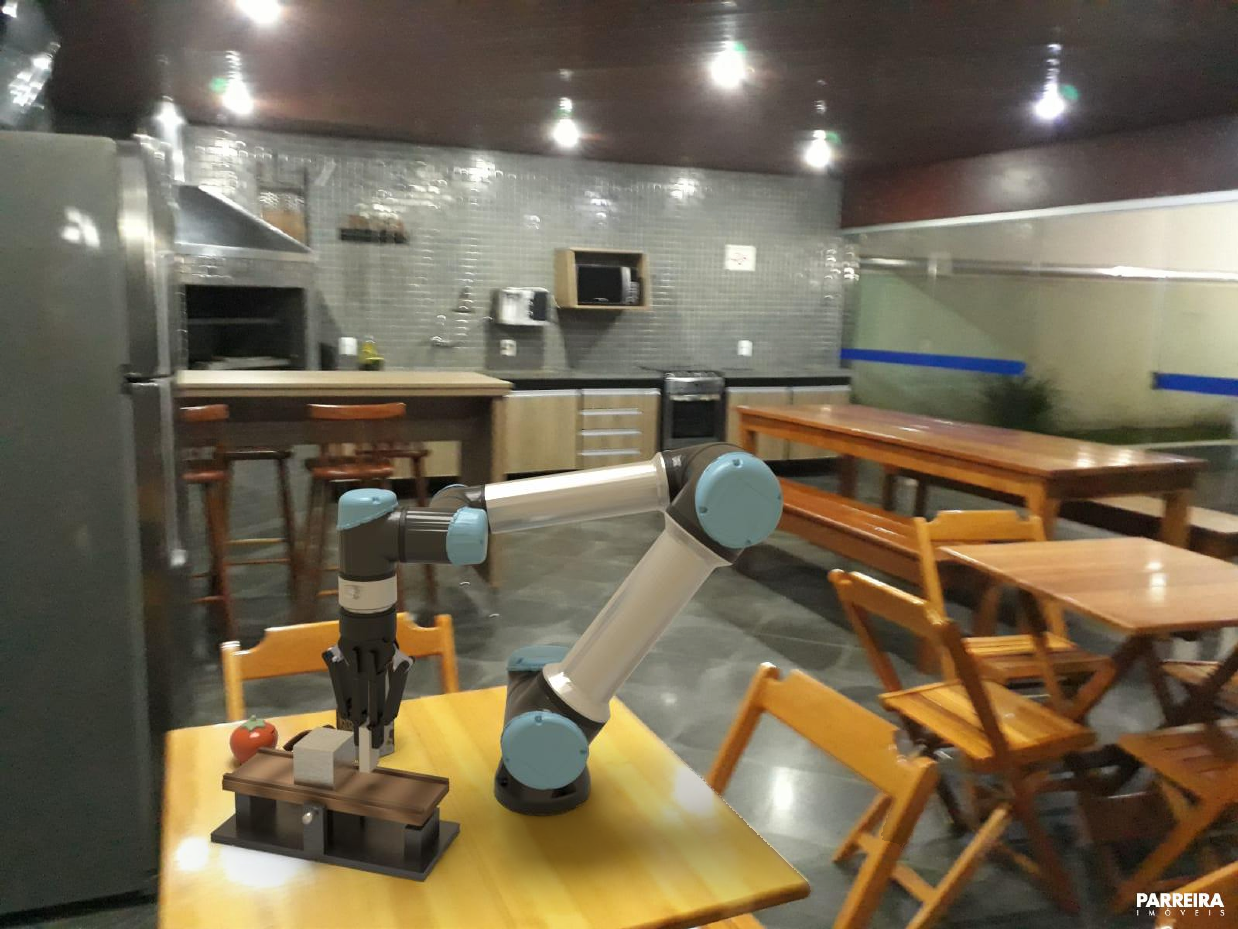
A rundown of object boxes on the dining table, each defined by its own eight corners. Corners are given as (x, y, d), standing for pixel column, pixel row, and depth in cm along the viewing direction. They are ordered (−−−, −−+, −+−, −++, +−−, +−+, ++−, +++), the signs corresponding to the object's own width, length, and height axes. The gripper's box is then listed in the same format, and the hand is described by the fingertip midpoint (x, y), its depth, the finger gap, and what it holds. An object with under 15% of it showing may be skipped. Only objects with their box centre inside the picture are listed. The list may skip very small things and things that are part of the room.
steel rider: (355, 771, 124) (355, 732, 123) (333, 793, 118) (332, 752, 117) (317, 765, 125) (317, 726, 124) (293, 786, 120) (293, 746, 119)
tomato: (280, 767, 141) (279, 721, 140) (230, 776, 138) (228, 729, 136) (277, 746, 147) (276, 702, 146) (229, 754, 144) (228, 709, 143)
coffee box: (396, 752, 147) (395, 661, 145) (361, 764, 143) (360, 672, 140) (368, 733, 153) (367, 646, 151) (334, 744, 149) (333, 655, 146)
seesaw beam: (449, 791, 123) (449, 777, 123) (421, 826, 114) (421, 811, 114) (262, 759, 129) (262, 746, 129) (222, 790, 121) (221, 776, 120)
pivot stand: (464, 824, 127) (464, 774, 126) (417, 889, 112) (417, 833, 111) (270, 791, 134) (268, 743, 132) (202, 848, 119) (200, 794, 118)
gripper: (308, 608, 114) (311, 774, 118) (399, 619, 111) (399, 789, 115) (338, 591, 121) (341, 748, 125) (425, 601, 118) (424, 761, 122)
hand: (369, 767), depth 120 cm, fingers closed
